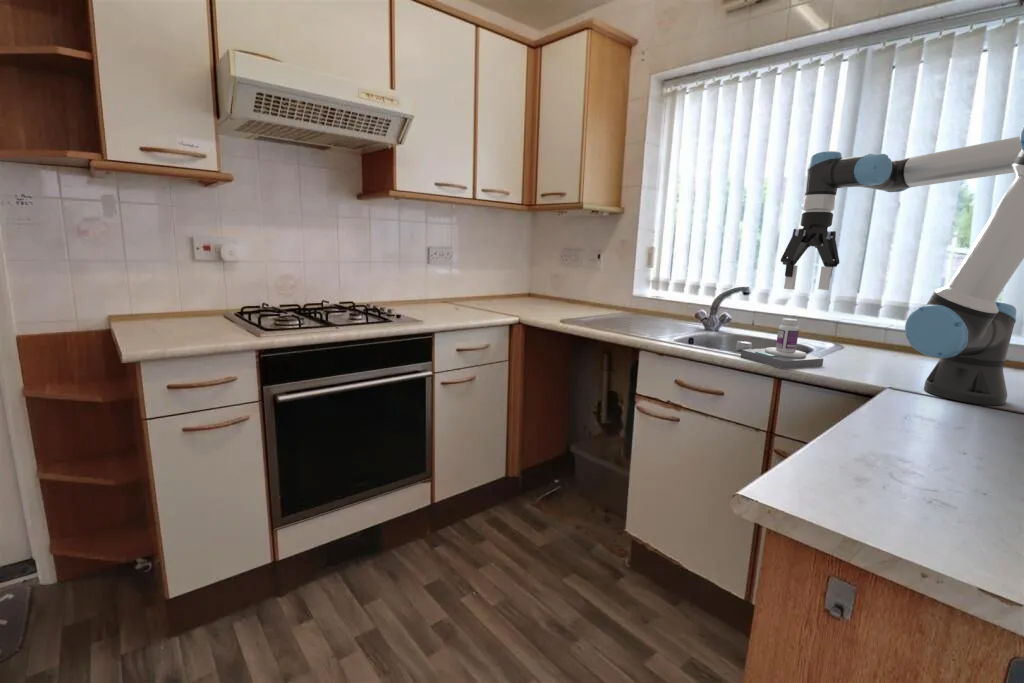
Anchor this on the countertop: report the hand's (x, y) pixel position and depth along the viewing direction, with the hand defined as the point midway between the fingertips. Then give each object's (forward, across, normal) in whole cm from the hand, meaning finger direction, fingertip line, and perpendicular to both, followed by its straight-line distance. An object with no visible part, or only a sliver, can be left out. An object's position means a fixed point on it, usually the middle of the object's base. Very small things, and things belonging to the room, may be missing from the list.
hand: (806, 289), depth 147 cm
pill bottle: (+19, -1, -5) cm, 20 cm away
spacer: (+22, 0, -19) cm, 29 cm away
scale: (+22, 0, -5) cm, 22 cm away
